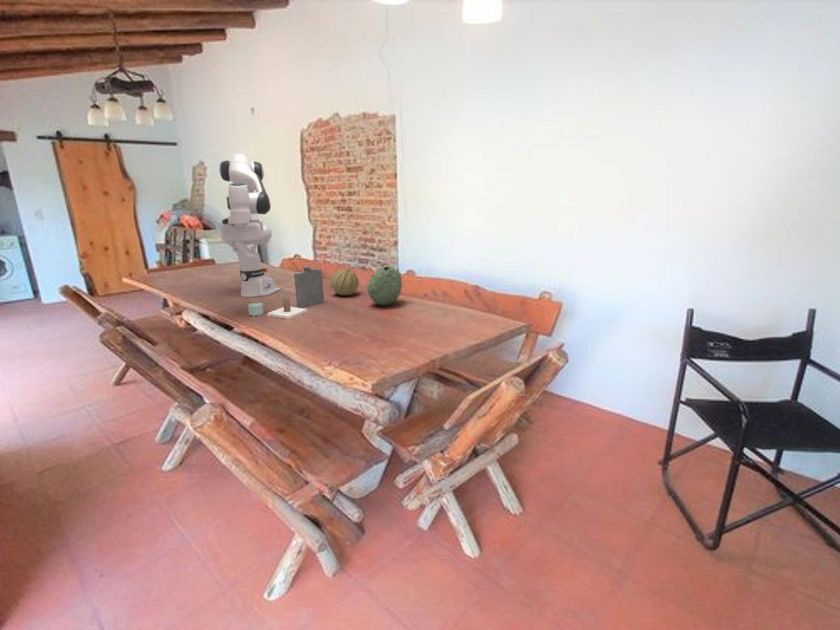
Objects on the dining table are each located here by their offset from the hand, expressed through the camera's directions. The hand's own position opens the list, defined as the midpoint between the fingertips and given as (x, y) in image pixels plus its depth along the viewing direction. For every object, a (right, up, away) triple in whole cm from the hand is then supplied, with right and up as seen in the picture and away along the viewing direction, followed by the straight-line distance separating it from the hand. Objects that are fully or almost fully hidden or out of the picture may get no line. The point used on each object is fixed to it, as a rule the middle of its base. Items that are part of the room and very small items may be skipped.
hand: (244, 251), depth 198 cm
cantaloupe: (+38, -18, +44) cm, 61 cm away
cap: (+1, -29, +12) cm, 31 cm away
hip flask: (+23, -24, +27) cm, 43 cm away
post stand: (+16, -29, +11) cm, 35 cm away
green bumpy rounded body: (+62, -24, +25) cm, 71 cm away
